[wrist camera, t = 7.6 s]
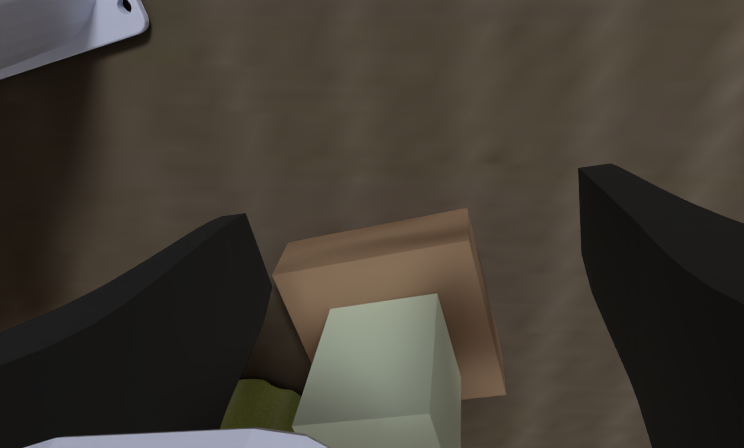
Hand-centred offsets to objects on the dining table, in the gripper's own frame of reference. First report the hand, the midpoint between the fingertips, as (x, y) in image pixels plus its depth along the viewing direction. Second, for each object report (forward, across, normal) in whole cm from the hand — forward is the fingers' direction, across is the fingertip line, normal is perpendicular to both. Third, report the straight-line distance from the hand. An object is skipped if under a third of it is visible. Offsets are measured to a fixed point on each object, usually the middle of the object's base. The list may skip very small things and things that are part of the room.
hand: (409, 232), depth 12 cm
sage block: (+7, +3, +10) cm, 12 cm away
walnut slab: (+10, +3, +9) cm, 14 cm away
